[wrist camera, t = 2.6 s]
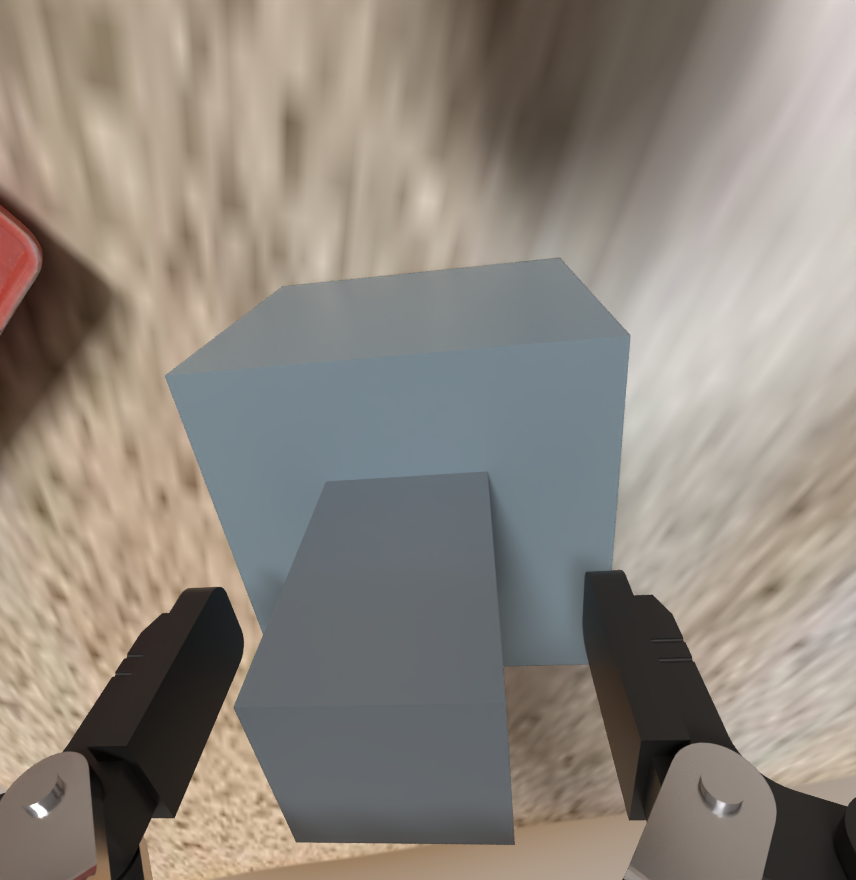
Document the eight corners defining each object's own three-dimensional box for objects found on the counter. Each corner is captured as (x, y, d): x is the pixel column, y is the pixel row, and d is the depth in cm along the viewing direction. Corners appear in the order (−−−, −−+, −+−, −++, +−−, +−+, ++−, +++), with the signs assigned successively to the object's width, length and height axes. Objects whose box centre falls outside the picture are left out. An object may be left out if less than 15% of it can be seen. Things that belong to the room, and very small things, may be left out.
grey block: (560, 257, 18) (792, 513, 5) (557, 494, 23) (676, 923, 10) (281, 286, 19) (-74, 557, 7) (335, 507, 24) (192, 911, 11)
